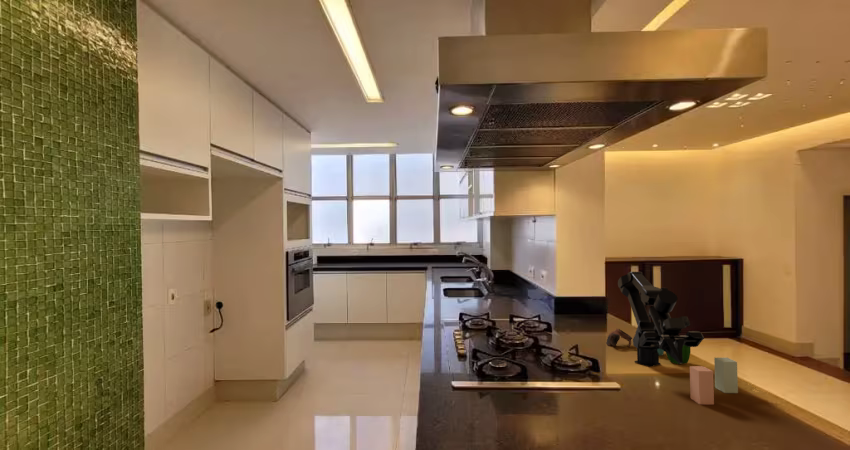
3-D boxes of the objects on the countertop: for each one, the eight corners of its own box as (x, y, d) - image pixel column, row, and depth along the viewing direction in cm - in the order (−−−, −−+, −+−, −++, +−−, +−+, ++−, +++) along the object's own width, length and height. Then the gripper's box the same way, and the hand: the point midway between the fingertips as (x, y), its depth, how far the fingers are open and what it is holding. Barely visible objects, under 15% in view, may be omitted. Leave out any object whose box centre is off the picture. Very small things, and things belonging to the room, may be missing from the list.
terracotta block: (690, 398, 126) (689, 366, 126) (704, 398, 125) (703, 366, 126) (699, 404, 121) (698, 371, 121) (713, 404, 121) (713, 371, 121)
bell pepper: (693, 366, 155) (693, 339, 155) (668, 365, 157) (667, 338, 157) (687, 360, 163) (686, 334, 163) (663, 358, 165) (662, 333, 165)
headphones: (608, 342, 192) (617, 327, 191) (627, 355, 185) (637, 340, 184) (599, 340, 183) (609, 325, 182) (618, 354, 177) (629, 338, 176)
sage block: (715, 387, 134) (714, 357, 134) (728, 387, 134) (727, 357, 134) (724, 392, 129) (723, 361, 130) (737, 393, 129) (737, 361, 129)
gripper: (642, 307, 140) (659, 350, 129) (699, 307, 139) (722, 350, 128) (632, 325, 148) (647, 367, 137) (686, 325, 147) (707, 367, 136)
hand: (680, 362), depth 134 cm, fingers closed
